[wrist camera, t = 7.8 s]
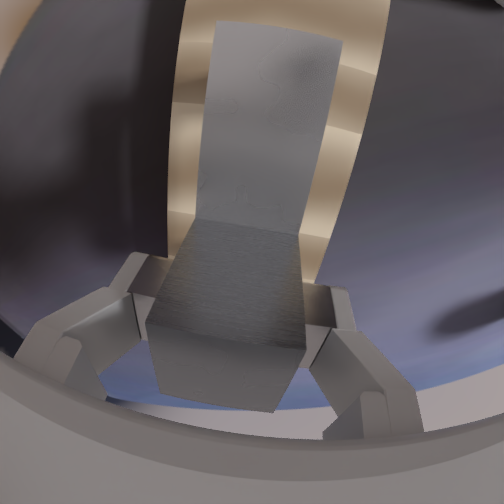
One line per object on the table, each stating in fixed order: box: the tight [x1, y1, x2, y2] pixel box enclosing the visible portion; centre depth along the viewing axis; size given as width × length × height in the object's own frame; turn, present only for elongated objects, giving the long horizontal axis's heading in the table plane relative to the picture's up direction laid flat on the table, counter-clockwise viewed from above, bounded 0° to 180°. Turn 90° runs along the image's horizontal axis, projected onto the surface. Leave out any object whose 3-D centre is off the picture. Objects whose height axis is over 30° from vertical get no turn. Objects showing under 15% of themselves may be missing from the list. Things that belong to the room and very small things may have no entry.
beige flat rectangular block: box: [167, 0, 390, 284], centre depth 17 cm, size 24×10×4 cm, turn 171°
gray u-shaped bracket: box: [145, 21, 343, 413], centre depth 10 cm, size 14×3×10 cm, turn 172°
